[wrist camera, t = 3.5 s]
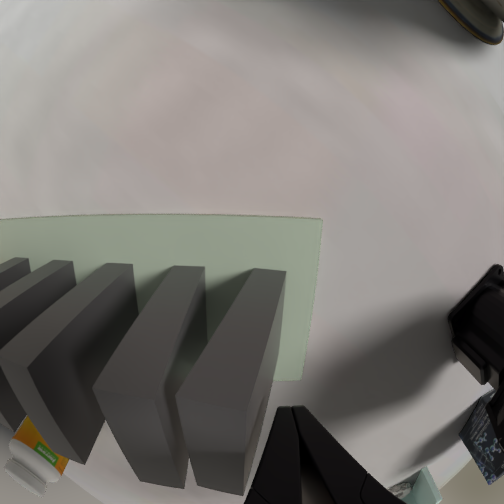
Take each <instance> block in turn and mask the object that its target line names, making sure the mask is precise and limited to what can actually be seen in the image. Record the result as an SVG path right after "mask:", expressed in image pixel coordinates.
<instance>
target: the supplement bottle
mask: <svg viewBox="0 0 504 504" xmlns="http://www.w3.org/2000/svg"><path fill="white" fill-rule="evenodd" d="M9 449H10V452H11V453H12V455H13V458H12V459H9V460H8V461H7V463H6V465H5V467H4V470H5V471H6V473H7V474H9V476H10V477H11V478H13V479H14V480H15V481H16V482H17V483H19V484H20V485H22V486H23V487H24V488H25V489H27V490H28V491H30V492H32V493H33V494H35V495H37V496H39V497H43V496H44V493H45V492H46V488H47V485H46V482H50V483H55V482H57V481H59V479H60V477H61V476H62V474H63V471H64V469H65V467H66V465H67V463H68V461H69V459H68V458H66V457H63V456H61V455H59V454H56V453H54V452H53V451H52V450H51V448H50V447H49V446H48V444H47V443H46V442H45V440H44V439H43V438H42V436H41V435H40V433H39V432H38V430H37V429H36V428H35V426H34V425H33V423H32V422H31V420H30V418H29V417H28V416H27V417H26V418H25V420H24V421H23V423H22V424H21V426H20V427H19V429H18V430H17V432H16V433H15V435H14V436H13V438H12V439H11V441H10V443H9Z"/></svg>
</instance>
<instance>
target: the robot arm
mask: <svg viewBox="0 0 504 504" xmlns="http://www.w3.org/2000/svg"><path fill="white" fill-rule="evenodd" d="M448 322H449V325H450V329H451V332H452V335H453V338H452V344H453V348H454V351H455V355H456V358H457V359H458V361H459V362H460V363H461V364H462V365H463V366H464V367H465V368H466V369H467V370H468V371H469V372H470V373H471V374H472V375H473V377H474V378H475V379H476V380H477V381H478V382H479V383H480V384H481V385H485V384H486V383H487V382H489V384H490V385H491V386H492V387H493V388H494V389H495V390H496V392H495V394H494V395H493V397H492V398H491V400H489V401H488V403H487V404H486V406H485V409H486V412H487V414H488V416H489V419H490V422H491V424H492V427H493V429H494V432H495V435H496V438H497V441H498V443H499V446H500V448H501V450H502V453H503V454H504V271H503V267H502V266H501V265H499V264H497V265H496V266H495V267H494V268H493V269H492V270H491V271H490V273H489V274H488V275H487V276H486V277H485V278H484V279H483V281H482V282H481V283H480V284H479V285H478V286H477V287H476V288H475V289H474V290H473V291H472V293H471V294H470V295H469V296H468V297H467V298H466V299H465V300H464V301H463V302H462V303H461V304H460V305H459V306H458V307H457V308H456V309H455V310H454V311H453V312H452V313H451V314H450V315H449V318H448ZM244 504H407V503H405V502H404V501H402V500H401V499H399V498H398V497H397V496H395V495H394V494H392V493H391V492H390V491H388V490H387V489H386V488H385V487H383V486H382V485H381V484H380V483H379V482H378V481H377V480H376V479H375V478H373V477H372V476H371V475H370V474H369V473H367V471H366V470H365V469H364V468H363V467H362V466H361V465H360V464H359V463H358V462H357V461H356V460H355V459H354V458H353V457H352V456H351V455H350V454H349V453H348V452H347V451H346V450H345V449H344V448H343V447H342V446H341V445H340V444H339V443H338V442H337V441H336V439H335V438H334V437H333V436H332V435H331V434H330V433H329V432H328V431H327V430H326V429H325V428H324V427H323V426H322V425H321V424H320V422H319V421H318V420H317V419H316V418H315V417H314V416H313V415H312V414H311V413H310V412H309V410H308V409H307V408H306V407H305V406H303V405H299V406H292V407H290V406H280V407H278V408H277V411H276V414H275V417H274V421H273V424H272V427H271V430H270V433H269V436H268V439H267V442H266V445H265V448H264V451H263V454H262V457H261V460H260V463H259V466H258V468H257V471H256V474H255V477H254V479H253V482H252V485H251V489H250V490H249V492H248V495H247V497H246V500H245V502H244Z"/></svg>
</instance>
